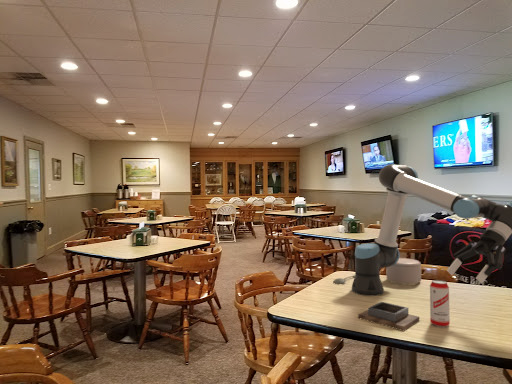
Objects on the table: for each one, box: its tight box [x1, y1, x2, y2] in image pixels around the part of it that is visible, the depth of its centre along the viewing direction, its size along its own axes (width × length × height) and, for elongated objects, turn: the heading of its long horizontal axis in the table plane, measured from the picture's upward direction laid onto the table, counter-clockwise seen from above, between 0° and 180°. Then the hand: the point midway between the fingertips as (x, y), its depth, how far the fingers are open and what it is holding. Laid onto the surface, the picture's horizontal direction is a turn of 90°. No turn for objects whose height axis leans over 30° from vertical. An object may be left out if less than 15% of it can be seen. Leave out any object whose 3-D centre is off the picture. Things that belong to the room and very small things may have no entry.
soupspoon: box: [332, 274, 355, 285], centre depth 196 cm, size 22×3×7 cm
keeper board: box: [357, 309, 420, 331], centre depth 134 cm, size 18×14×2 cm
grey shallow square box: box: [367, 301, 409, 323], centre depth 134 cm, size 11×11×3 cm
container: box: [385, 257, 422, 286], centre depth 193 cm, size 18×18×12 cm
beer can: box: [429, 279, 451, 328], centre depth 128 cm, size 6×6×16 cm
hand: (463, 276), depth 130 cm, fingers open, 13 cm apart
